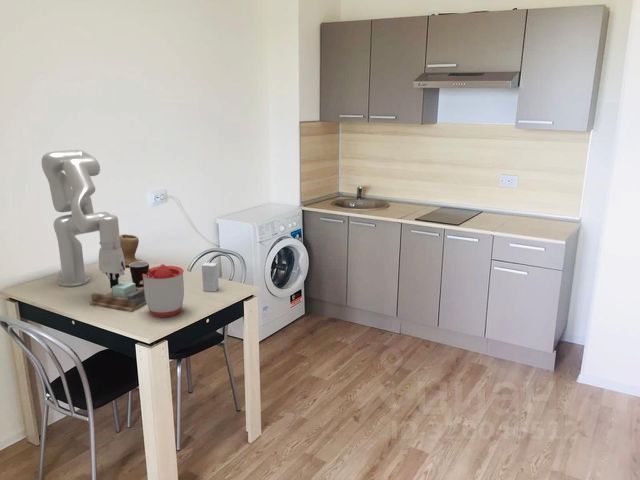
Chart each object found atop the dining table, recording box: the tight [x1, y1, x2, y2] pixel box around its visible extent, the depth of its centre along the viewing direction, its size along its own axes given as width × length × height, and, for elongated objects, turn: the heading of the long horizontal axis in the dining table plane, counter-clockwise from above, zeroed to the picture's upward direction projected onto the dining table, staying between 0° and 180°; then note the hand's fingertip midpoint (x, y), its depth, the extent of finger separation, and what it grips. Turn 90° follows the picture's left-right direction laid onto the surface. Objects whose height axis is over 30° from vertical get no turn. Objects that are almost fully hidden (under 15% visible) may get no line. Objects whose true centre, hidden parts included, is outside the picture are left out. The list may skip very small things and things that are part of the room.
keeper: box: [111, 281, 137, 299], centre depth 223 cm, size 6×7×6 cm
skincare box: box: [201, 262, 220, 292], centre depth 238 cm, size 6×4×12 cm
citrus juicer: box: [140, 264, 185, 318], centre depth 212 cm, size 16×17×20 cm
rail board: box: [89, 287, 147, 313], centre depth 224 cm, size 21×16×6 cm
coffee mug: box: [129, 260, 150, 288], centre depth 245 cm, size 12×9×10 cm
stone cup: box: [119, 233, 140, 267], centre depth 274 cm, size 15×12×15 cm
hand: (114, 287), depth 224 cm, fingers closed
